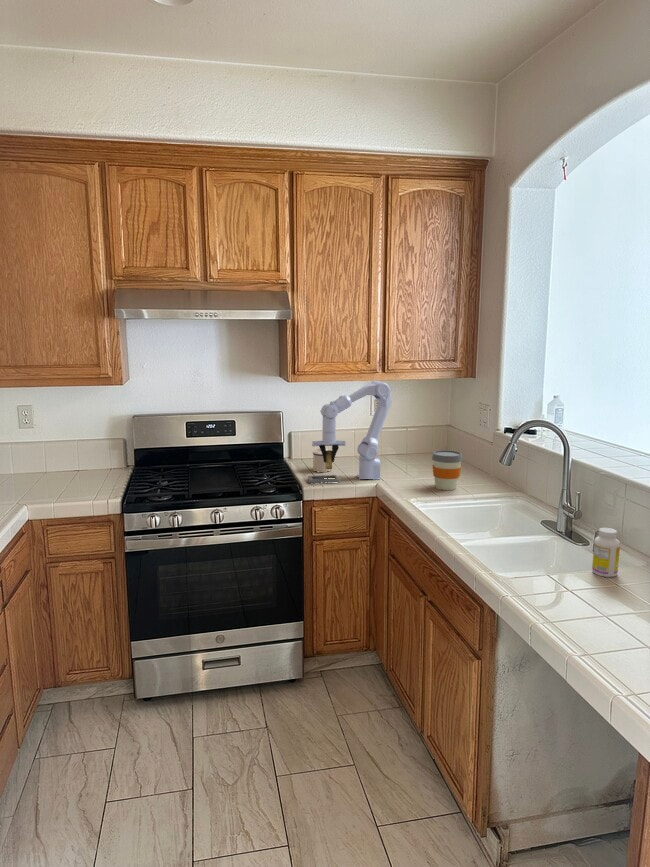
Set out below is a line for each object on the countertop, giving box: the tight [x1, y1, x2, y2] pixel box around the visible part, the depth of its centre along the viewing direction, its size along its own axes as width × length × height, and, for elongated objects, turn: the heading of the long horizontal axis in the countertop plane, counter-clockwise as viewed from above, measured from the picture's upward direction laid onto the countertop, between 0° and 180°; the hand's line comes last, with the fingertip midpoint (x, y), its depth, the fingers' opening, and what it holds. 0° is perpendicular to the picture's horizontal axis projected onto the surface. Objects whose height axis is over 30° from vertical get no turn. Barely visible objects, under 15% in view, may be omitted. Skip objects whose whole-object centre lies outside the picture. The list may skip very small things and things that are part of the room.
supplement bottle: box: [591, 527, 621, 578], centre depth 173 cm, size 7×7×13 cm
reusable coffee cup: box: [431, 449, 463, 491], centre depth 262 cm, size 13×13×15 cm
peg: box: [325, 449, 333, 470], centre depth 271 cm, size 3×3×8 cm
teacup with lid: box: [312, 448, 332, 473], centre depth 292 cm, size 12×9×12 cm
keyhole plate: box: [307, 474, 340, 484], centre depth 272 cm, size 13×8×2 cm, turn 97°
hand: (328, 461), depth 271 cm, fingers closed on peg, 3 cm apart
